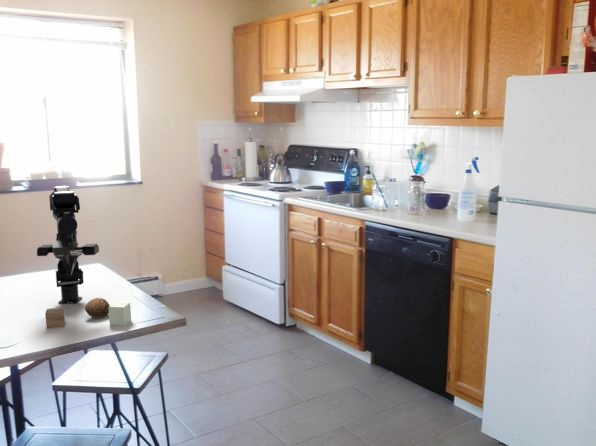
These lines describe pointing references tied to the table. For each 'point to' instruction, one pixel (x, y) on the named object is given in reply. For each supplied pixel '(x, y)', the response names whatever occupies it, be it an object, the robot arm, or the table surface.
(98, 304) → the coconut
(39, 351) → the table surface
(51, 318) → the walnut block
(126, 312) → the sage block
